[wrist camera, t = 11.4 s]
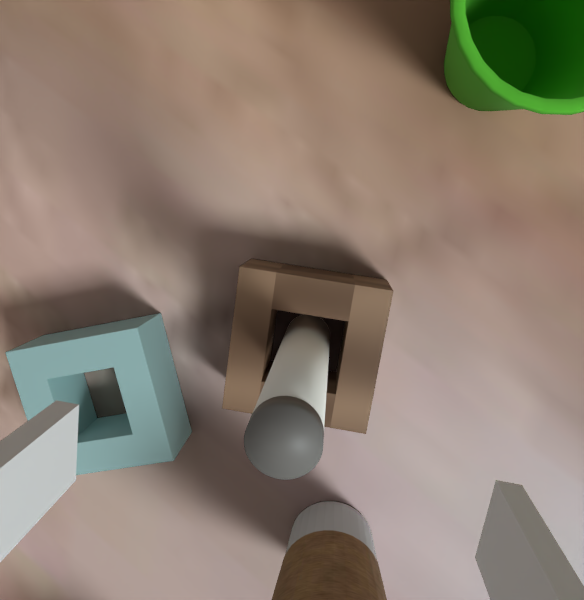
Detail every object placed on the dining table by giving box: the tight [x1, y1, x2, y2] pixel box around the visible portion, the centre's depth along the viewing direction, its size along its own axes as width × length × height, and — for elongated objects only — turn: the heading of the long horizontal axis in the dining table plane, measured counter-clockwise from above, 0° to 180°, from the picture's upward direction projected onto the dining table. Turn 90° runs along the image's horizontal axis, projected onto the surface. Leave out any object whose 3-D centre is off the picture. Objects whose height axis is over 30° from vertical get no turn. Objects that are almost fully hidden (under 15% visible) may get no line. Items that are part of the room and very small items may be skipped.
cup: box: [444, 0, 584, 115], centre depth 23 cm, size 9×9×11 cm
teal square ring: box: [5, 313, 192, 475], centre depth 33 cm, size 9×9×4 cm
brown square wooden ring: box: [222, 259, 393, 434], centre depth 31 cm, size 9×9×4 cm
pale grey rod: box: [244, 314, 330, 480], centre depth 26 cm, size 3×3×15 cm
